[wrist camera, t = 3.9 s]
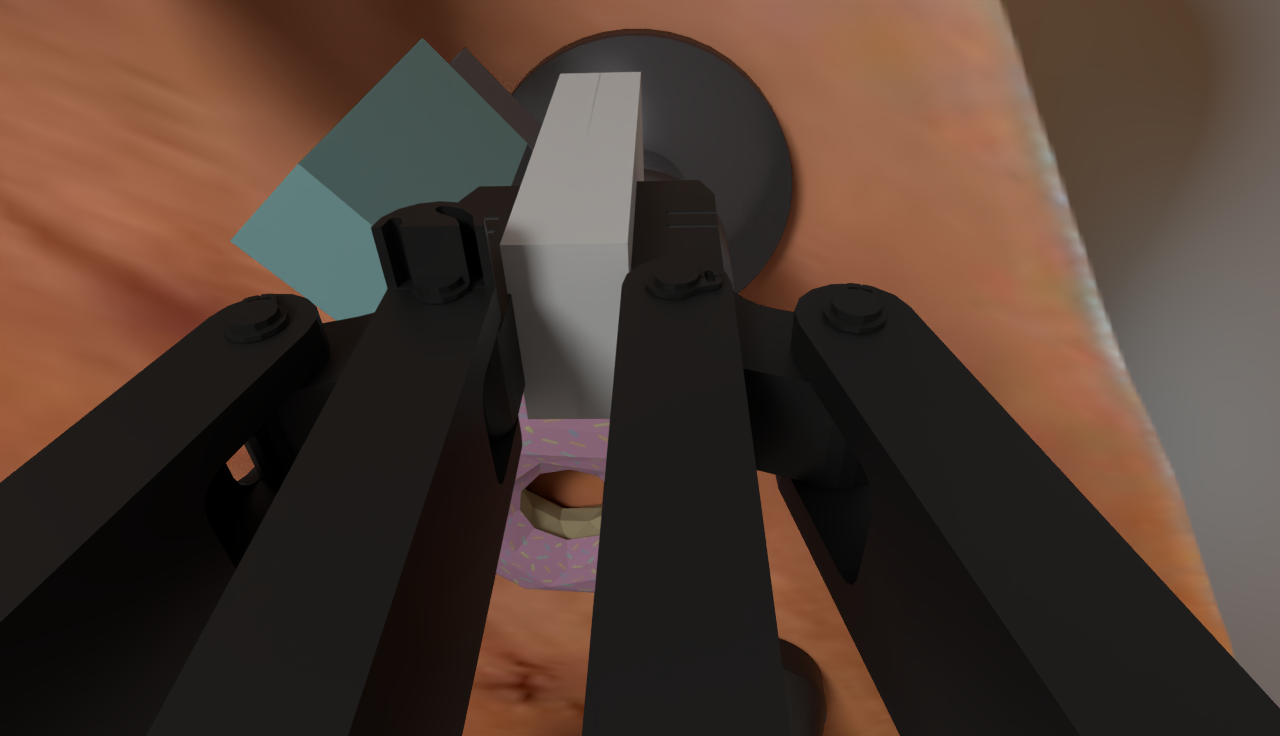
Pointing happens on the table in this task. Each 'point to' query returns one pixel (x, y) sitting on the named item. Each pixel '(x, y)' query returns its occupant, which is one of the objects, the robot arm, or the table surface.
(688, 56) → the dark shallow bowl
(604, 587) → the robot arm
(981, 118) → the table surface
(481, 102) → the teal grey l-shaped block
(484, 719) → the table surface
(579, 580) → the donut
